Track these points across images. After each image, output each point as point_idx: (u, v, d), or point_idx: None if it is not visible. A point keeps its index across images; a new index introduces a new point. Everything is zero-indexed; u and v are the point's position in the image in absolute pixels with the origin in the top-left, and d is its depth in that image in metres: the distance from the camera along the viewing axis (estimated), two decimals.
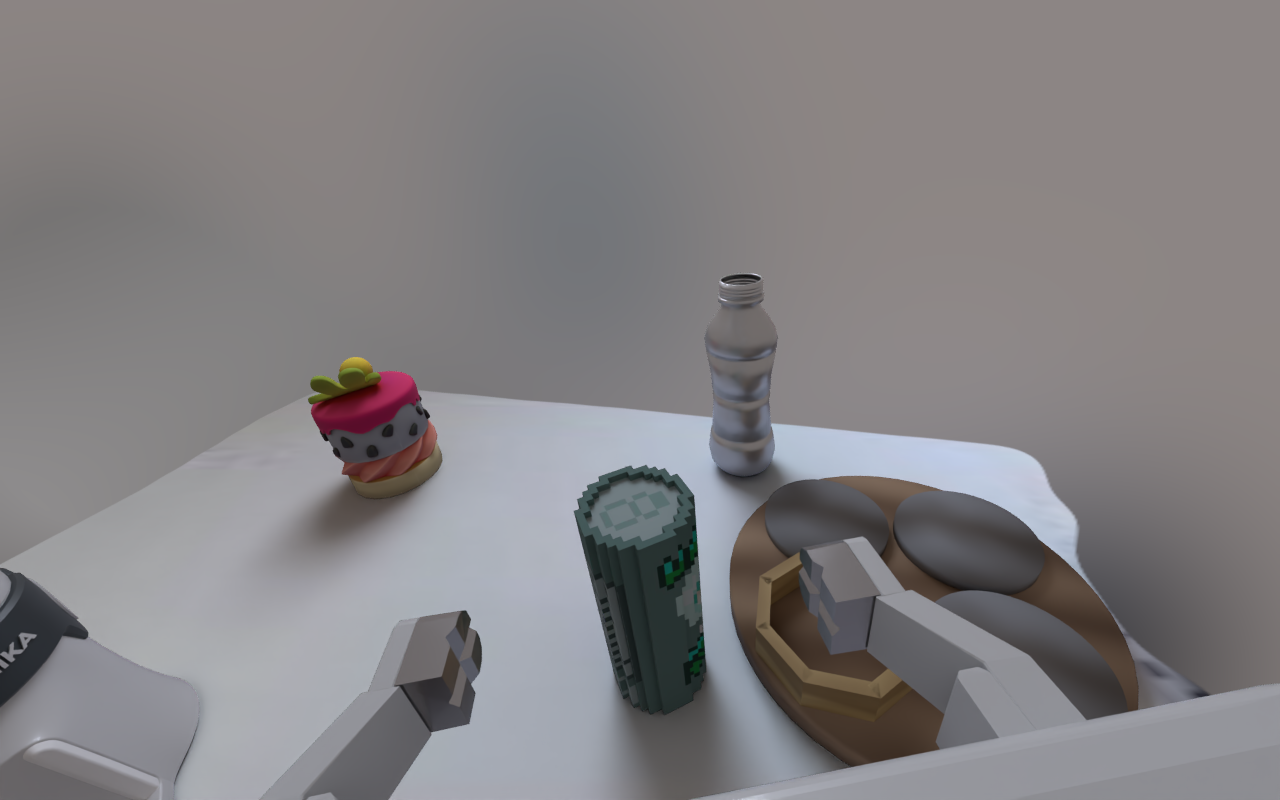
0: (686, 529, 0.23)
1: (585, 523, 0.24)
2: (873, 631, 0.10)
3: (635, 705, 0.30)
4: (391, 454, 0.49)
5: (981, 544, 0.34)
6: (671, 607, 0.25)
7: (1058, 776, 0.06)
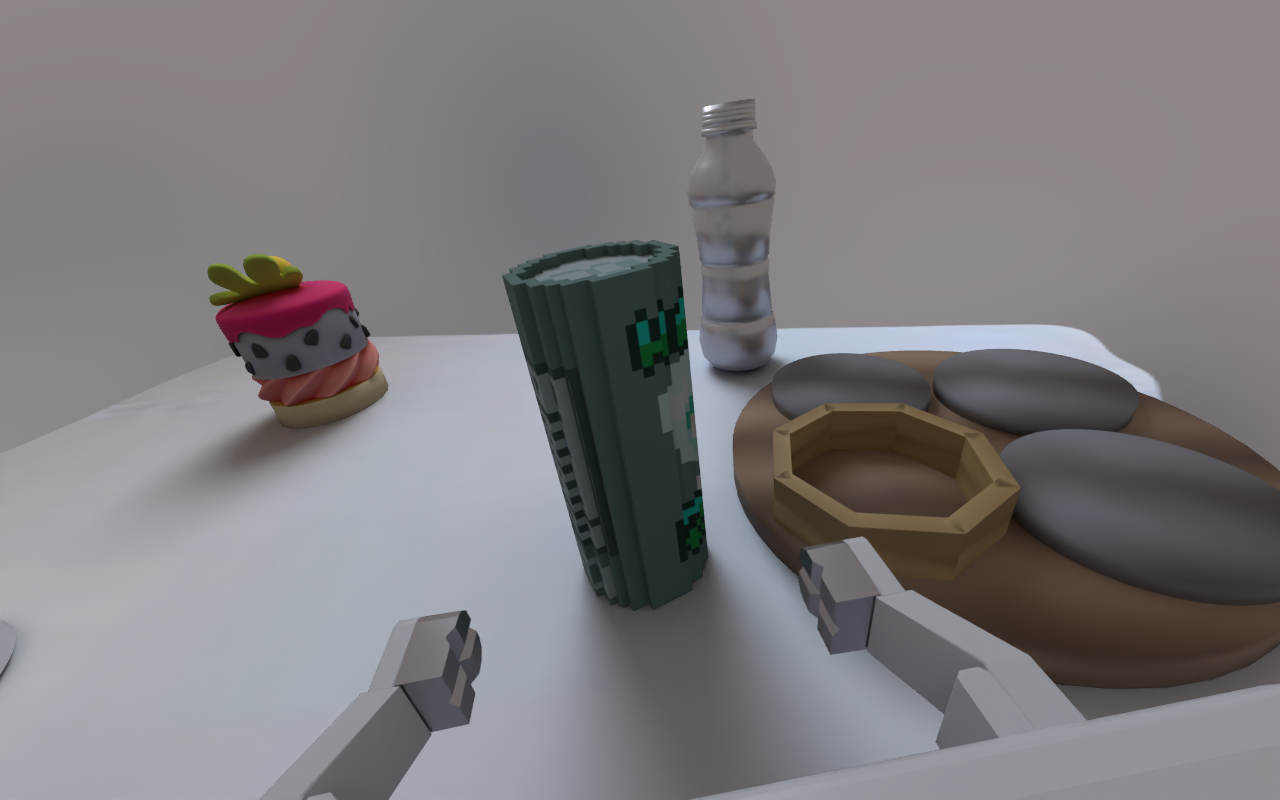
0: (668, 271, 0.15)
1: (517, 278, 0.16)
2: (873, 631, 0.10)
3: (612, 600, 0.21)
4: (318, 369, 0.41)
5: (1051, 388, 0.27)
6: (652, 413, 0.17)
7: (1058, 776, 0.06)
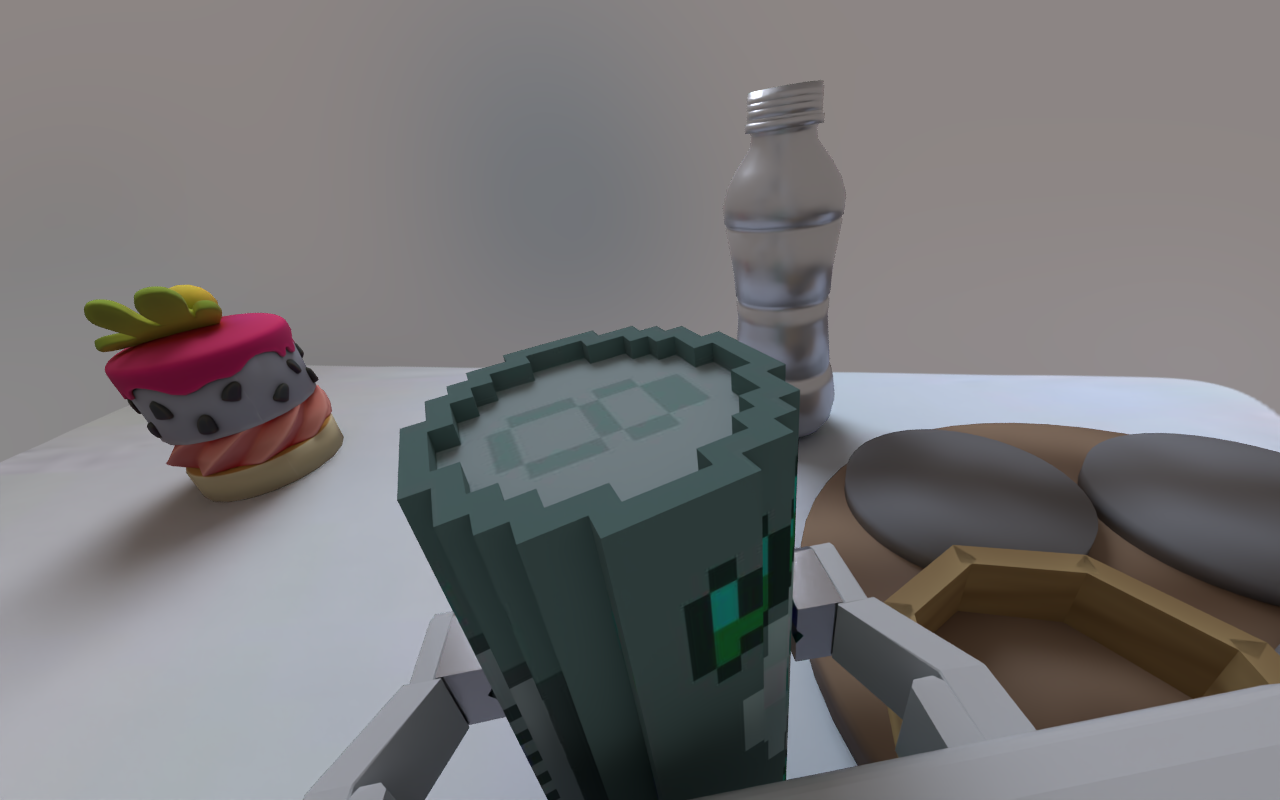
0: (787, 457, 0.06)
1: (422, 457, 0.07)
2: (837, 638, 0.10)
3: None
4: (242, 430, 0.32)
5: None
6: (729, 730, 0.08)
7: (1058, 776, 0.06)
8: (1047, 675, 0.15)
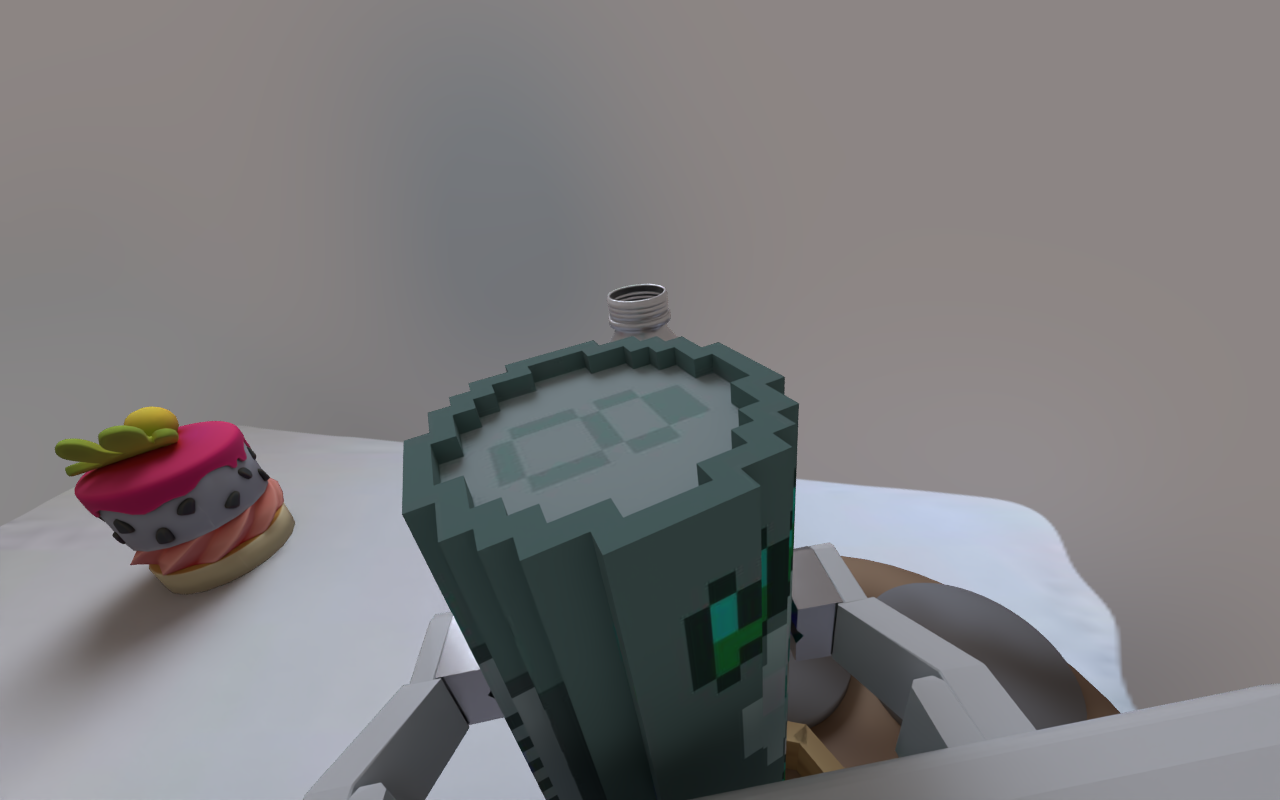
0: (786, 471, 0.06)
1: (425, 469, 0.07)
2: (836, 638, 0.10)
3: None
4: (197, 537, 0.37)
5: None
6: (728, 738, 0.08)
7: (1058, 776, 0.06)
8: None
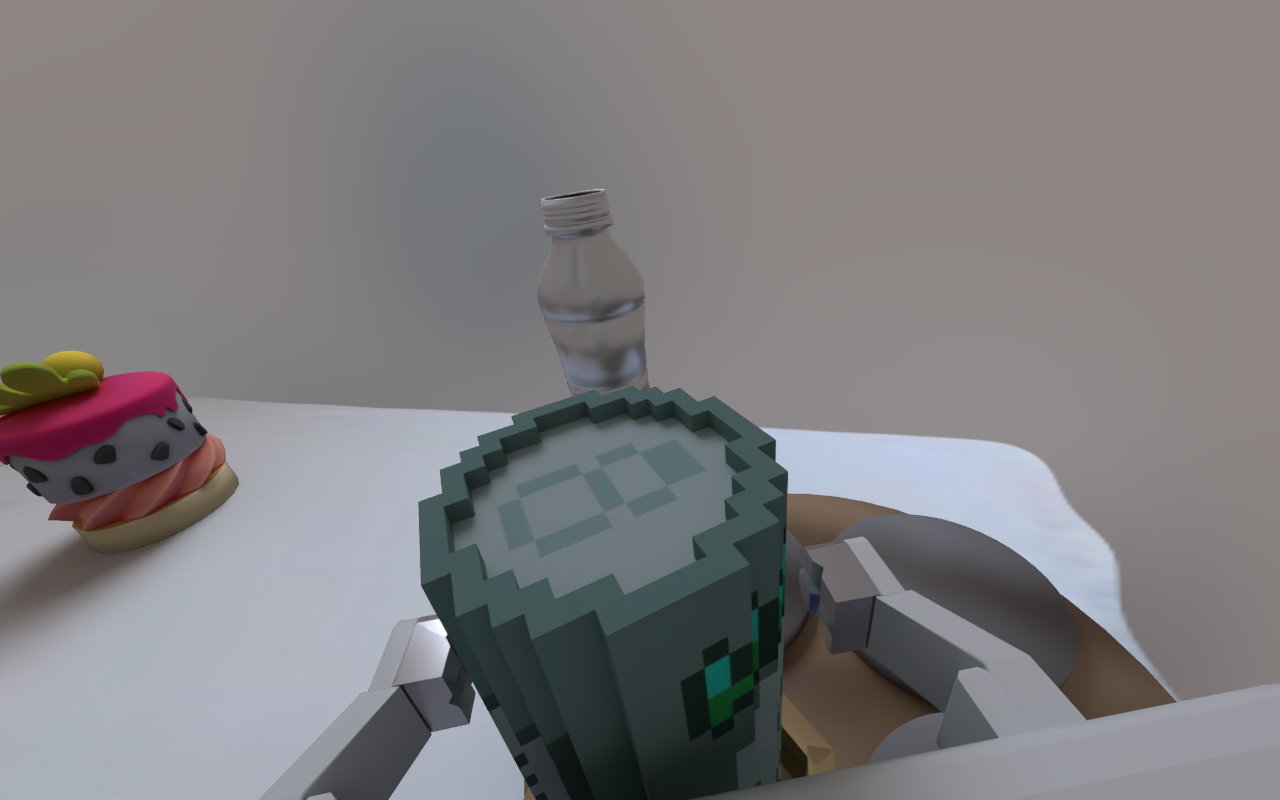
0: (775, 542, 0.07)
1: (440, 536, 0.07)
2: (873, 631, 0.10)
3: None
4: (119, 489, 0.34)
5: (965, 610, 0.20)
6: (723, 779, 0.08)
7: (1058, 776, 0.06)
8: None
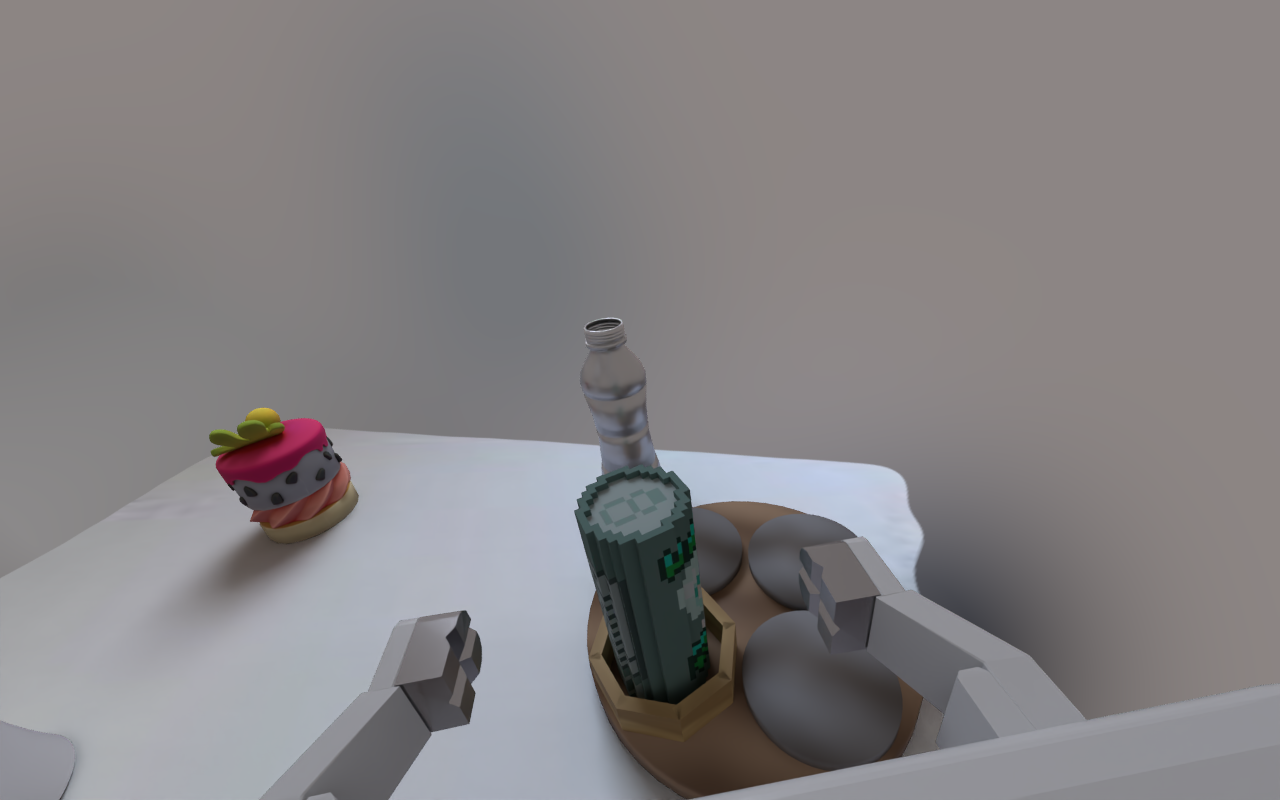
0: (684, 521, 0.24)
1: (586, 521, 0.24)
2: (873, 631, 0.10)
3: None
4: (297, 500, 0.51)
5: None
6: (673, 600, 0.25)
7: (1058, 776, 0.06)
8: None
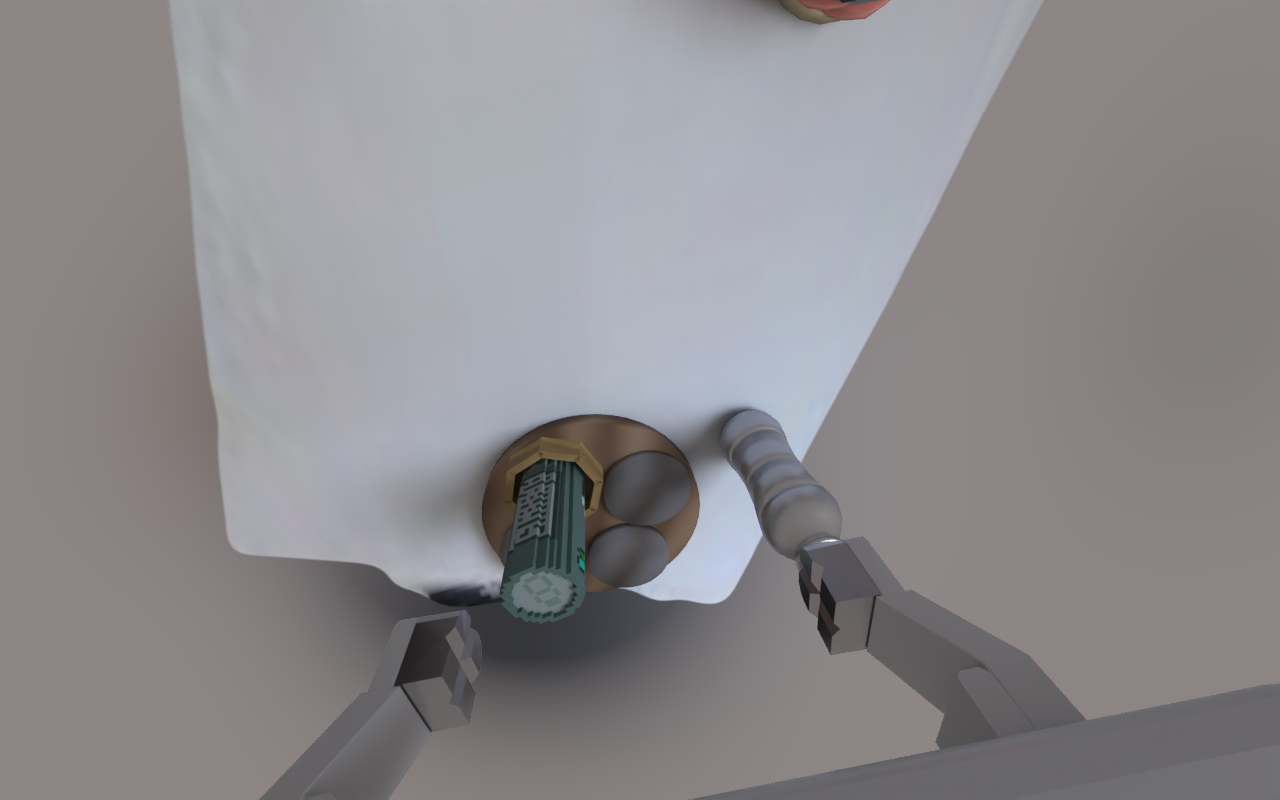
0: None
1: (521, 575, 0.34)
2: (873, 631, 0.10)
3: None
4: None
5: (619, 563, 0.54)
6: None
7: (1058, 776, 0.06)
8: None
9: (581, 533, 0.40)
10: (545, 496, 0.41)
